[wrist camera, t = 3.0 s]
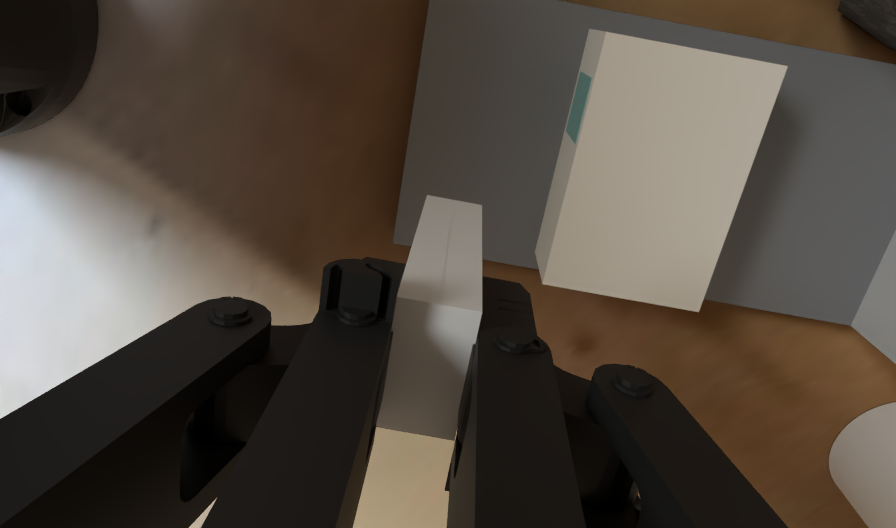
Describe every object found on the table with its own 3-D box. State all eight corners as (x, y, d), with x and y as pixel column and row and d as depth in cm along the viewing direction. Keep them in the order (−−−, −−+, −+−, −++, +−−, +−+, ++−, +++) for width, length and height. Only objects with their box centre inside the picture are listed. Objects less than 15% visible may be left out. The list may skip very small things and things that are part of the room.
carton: (534, 252, 36) (541, 284, 32) (588, 28, 31) (605, 31, 27) (673, 277, 36) (699, 312, 32) (747, 58, 32) (788, 66, 27)
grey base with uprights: (396, 231, 38) (362, 324, 27) (435, -22, 33) (413, -39, 22) (883, 319, 39) (1048, 445, 27) (998, 85, 33) (1258, 123, 22)
